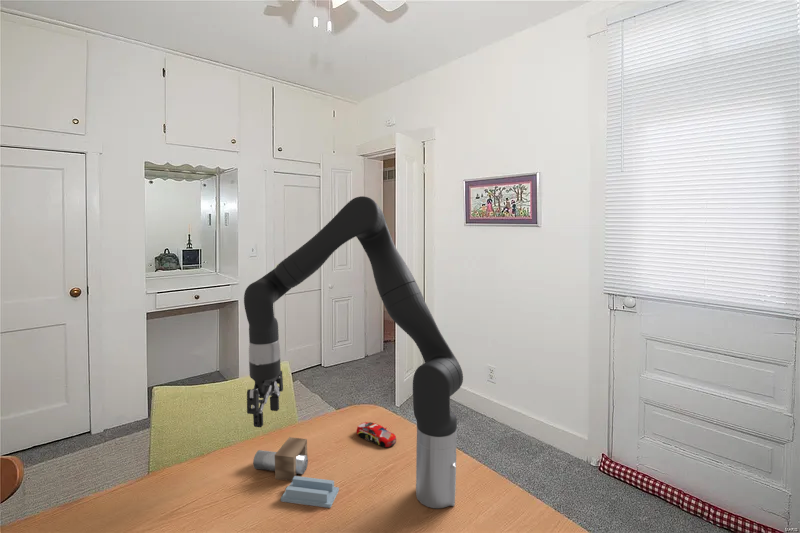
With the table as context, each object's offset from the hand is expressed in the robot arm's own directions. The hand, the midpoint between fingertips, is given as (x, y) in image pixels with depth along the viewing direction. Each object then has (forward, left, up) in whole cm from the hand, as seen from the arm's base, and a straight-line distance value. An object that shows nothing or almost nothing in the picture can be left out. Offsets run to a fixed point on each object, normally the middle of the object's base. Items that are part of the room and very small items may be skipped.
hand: (266, 418), depth 106 cm
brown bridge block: (-7, 0, -14) cm, 15 cm away
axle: (-4, 0, -14) cm, 14 cm away
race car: (-25, -19, -14) cm, 34 cm away
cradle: (-15, +9, -14) cm, 22 cm away
